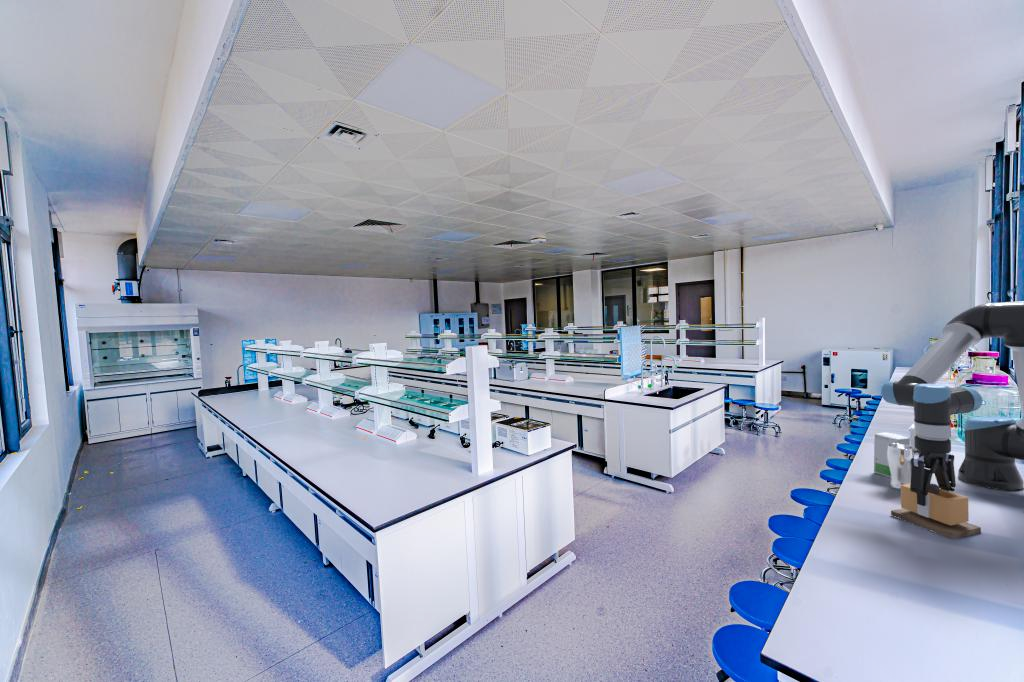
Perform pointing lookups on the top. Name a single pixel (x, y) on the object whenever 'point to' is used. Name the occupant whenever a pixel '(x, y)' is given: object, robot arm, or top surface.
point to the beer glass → (899, 464)
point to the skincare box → (885, 450)
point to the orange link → (939, 505)
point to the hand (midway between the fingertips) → (933, 513)
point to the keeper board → (935, 525)
